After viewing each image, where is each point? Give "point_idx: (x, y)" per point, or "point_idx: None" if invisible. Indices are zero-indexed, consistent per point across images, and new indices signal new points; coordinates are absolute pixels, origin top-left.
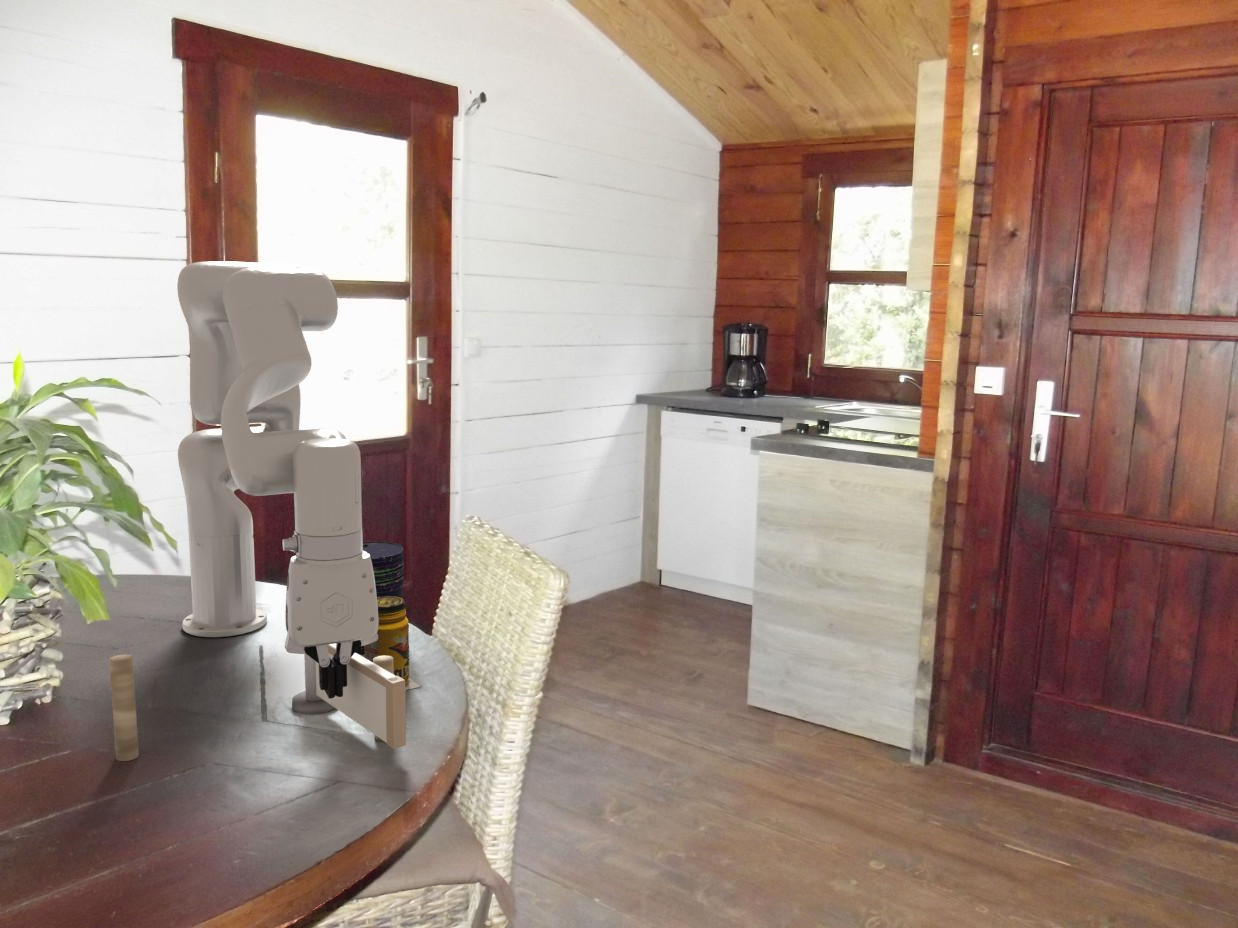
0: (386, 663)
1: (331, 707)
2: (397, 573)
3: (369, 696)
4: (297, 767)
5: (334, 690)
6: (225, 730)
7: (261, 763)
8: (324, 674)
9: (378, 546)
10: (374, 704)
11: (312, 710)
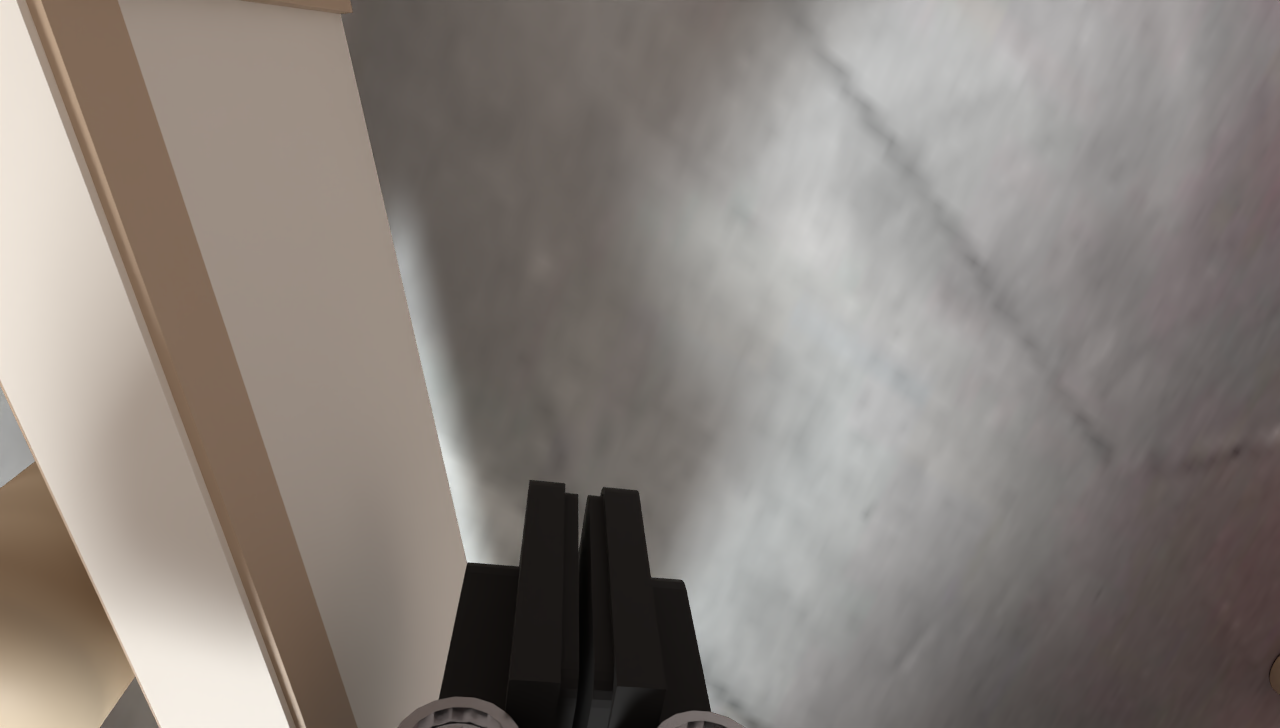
0: None
1: None
2: None
3: (328, 358)
4: (842, 221)
5: (596, 522)
6: (929, 715)
7: (958, 356)
8: (676, 669)
9: None
10: (319, 256)
11: None
